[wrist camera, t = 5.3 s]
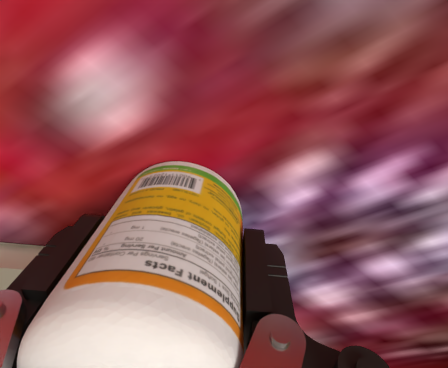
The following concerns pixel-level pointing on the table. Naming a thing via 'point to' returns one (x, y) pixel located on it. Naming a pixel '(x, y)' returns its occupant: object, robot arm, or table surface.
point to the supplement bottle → (151, 281)
